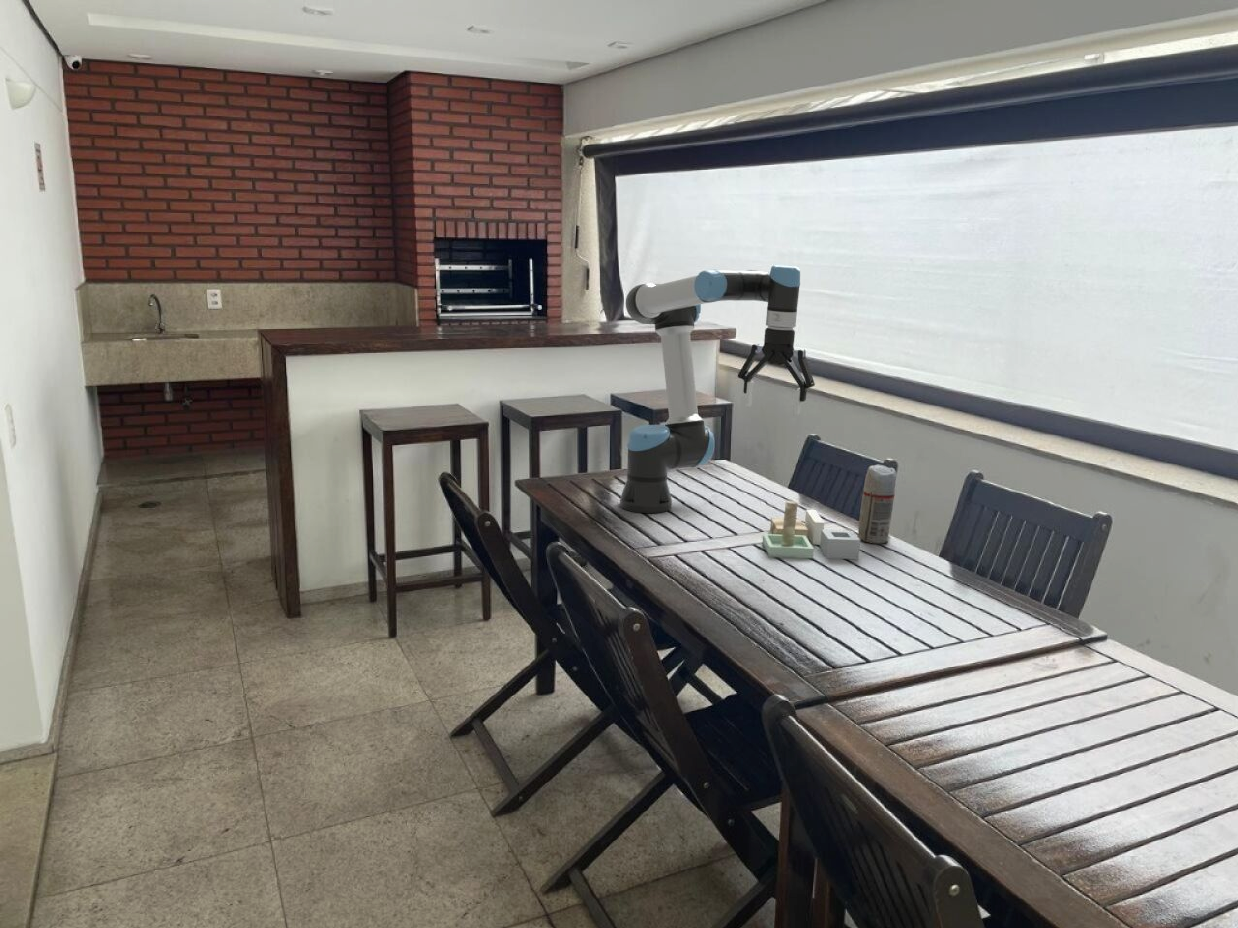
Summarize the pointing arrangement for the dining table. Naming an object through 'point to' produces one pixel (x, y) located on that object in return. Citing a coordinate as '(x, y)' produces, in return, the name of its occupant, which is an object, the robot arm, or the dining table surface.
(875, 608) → the dining table surface
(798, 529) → the grooved wooden block
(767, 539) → the tray
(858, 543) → the socket block
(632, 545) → the dining table surface
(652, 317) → the robot arm
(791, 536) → the dowel
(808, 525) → the block
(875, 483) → the spray can
